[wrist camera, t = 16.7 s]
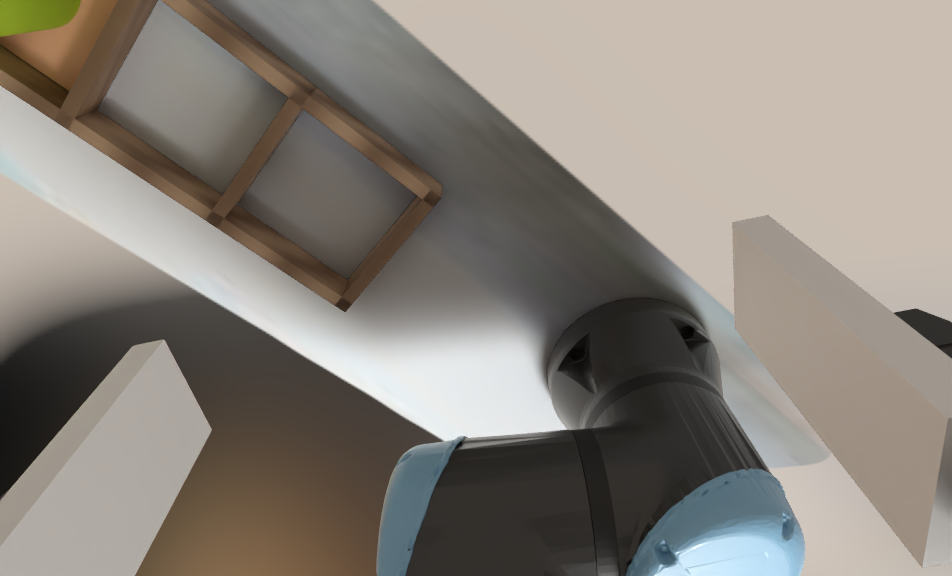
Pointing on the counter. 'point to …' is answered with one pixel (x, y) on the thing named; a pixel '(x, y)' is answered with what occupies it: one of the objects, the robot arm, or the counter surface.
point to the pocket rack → (75, 107)
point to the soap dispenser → (35, 15)
